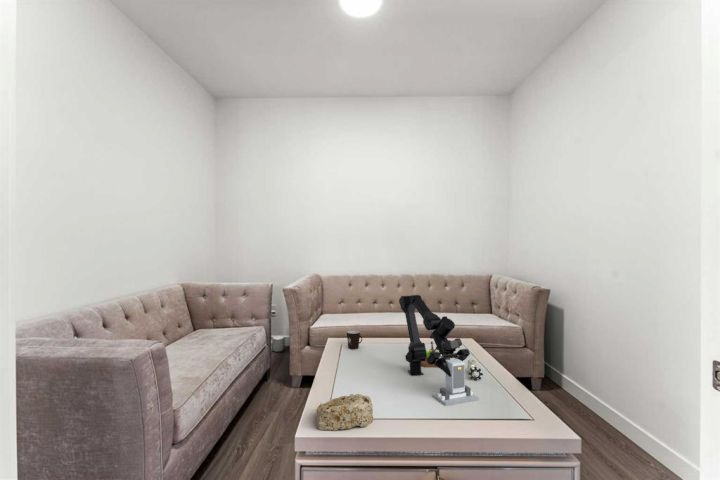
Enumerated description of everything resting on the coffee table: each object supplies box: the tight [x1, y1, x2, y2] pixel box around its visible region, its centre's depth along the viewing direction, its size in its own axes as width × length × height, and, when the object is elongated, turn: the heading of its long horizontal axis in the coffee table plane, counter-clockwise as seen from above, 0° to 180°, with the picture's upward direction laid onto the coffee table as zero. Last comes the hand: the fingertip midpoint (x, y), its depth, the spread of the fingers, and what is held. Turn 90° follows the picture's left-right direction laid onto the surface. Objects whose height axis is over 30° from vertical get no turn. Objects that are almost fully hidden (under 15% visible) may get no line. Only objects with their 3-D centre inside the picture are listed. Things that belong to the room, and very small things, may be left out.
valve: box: [466, 359, 484, 382], centre depth 178 cm, size 7×7×12 cm
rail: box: [431, 384, 480, 407], centre depth 152 cm, size 16×10×4 cm, turn 111°
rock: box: [316, 393, 374, 431], centre depth 132 cm, size 21×14×10 cm
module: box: [445, 358, 466, 393], centre depth 152 cm, size 6×6×12 cm
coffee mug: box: [346, 330, 363, 350], centre depth 228 cm, size 12×9×10 cm
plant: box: [421, 340, 452, 369], centre depth 201 cm, size 20×20×11 cm
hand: (456, 375), depth 151 cm, fingers closed on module, 6 cm apart
